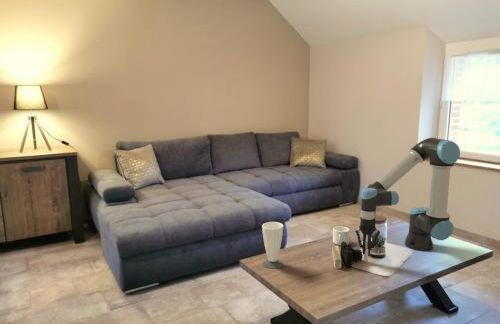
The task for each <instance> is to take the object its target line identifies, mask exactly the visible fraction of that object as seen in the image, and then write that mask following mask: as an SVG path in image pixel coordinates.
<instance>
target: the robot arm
mask: <svg viewBox="0 0 500 324" xmlns="http://www.w3.org/2000/svg"><path fill="white" fill-rule="evenodd" d="M460 157H461V150H460V147H459V145H458V144H457V143H456V142H454V141H452V140H449V139H443V138H436V137H429V138H428V137H427V138H425V139H423V140H420V141H419V142H417V143H416V144H415V145H414V146H412V147H411V148H410V149H409V150H408V153H407V154H406V155H404V157H402V158H401V159H400V160H398V162H397V163H396V164H394V165H393V166H392V167H391V168H390V169H389V170H387V171H386V172H385V173H384V174H383V175H382V176H381V177H379V178H378V179H377V180H375V182H373V183H368V184H366V185H365V186H364V187H363V189H362V190H361V199H360V200H361V201H360V202H361V203H360V219H359V221H360V222H359V227H357V228H355V229H354V232H355V234H356V237H357V241H358V245H359V248H361V249H362V250H361V251H362V255H364V256H363V260H364V262H368V261H369V255H371V249H374V248H375V246H376V244H377V243H376V242H377V240H378V237H379V235H380V234H381V231H380V229H377V227H376V217H377V214H376V213H377V207H389V206H390V207H391V206H395V205H398V203H399V201H400V196H399V193H398V192H397V191H396V190H389V189H390V188H391V187H393V186H394V185H395V184H396V183H397V182H399V180H401V179H402V178H403V177H405V176H406V174H407V173H409V172H410V171H411V170H412V169H414V167H416V166H417V165H418V164H422V163H423V162H425V161H427V160H429V163H428V164H429V166H430V167H431V168H432V169H431V180H430V181H431V183H430V193H429V194H430V196H429V206H428V207H424V206H423V207H420V206H417V207H413V208H411V209H410V212H409V220H408V222H409V223H408V225H409V226H408V232H407V235H406V237H405V240H404V245H405V247H406V248H409V249H411V250H414V251H420V252H421V251H423V252H424V251H426V252H428V251H431V250H433V248H434V243H433V240H432V239H436V240H438V241H444V240H447V239H449V238H450V237H451V235H453V233H454V228H455V227H454V224H453V223H452V221H450V215H451V214H449V213H448V202H449V201H448V200H449V189H450V178H451V169H452V168H453V167H454V166H455V163H457V161H458V160H459V159H460ZM360 232H361V233H362V240H361V235H360ZM373 234H374V235H373ZM372 235H373V237H372Z"/></svg>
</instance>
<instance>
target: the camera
mask: <svg viewBox="0 0 500 324" xmlns="http://www.w3.org/2000/svg"><path fill="white" fill-rule="evenodd" d="M339 252H340V256H341V263H342V264H343V265H344V267H345V268H347V269H352V268H353V262H362V261H363V253H362V250H361V249H358V248H357V249H355V248H353V246H351V244H347V243H346V242H344V241H343V242H342V243H341V245H340V249H339Z"/></svg>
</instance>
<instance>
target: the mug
mask: <svg viewBox="0 0 500 324" xmlns="http://www.w3.org/2000/svg"><path fill="white" fill-rule="evenodd" d="M350 231H351V230H350V228H349V227H347V226H341V225H339V226H334V227H333V228H332V242H333V244H335V246H341V243H342V242H343V241H344V242H346V243H347V245H350V244H349V243H350V240H351V232H350Z"/></svg>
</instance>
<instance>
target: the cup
mask: <svg viewBox="0 0 500 324" xmlns="http://www.w3.org/2000/svg"><path fill="white" fill-rule="evenodd" d="M261 229H262V236H263V237H262V238H263V243H264V245H263V246H264V249H265V253H266V257H267V259H265V260H266V261H264V260H263V261H264V262H263V261H262V262H263V263H261V264H264V265H262V266H263V267H264V266H265V267H264V268H266V267H267V268H266V269H270V268H273V269H274V268H276V269H279V268H282V267H283V266H284V262H283V260H280V259H278V258H279V255H280V250H281V246H282V240H283V235H284V233H283V232H284V224H283V223H281V222H278V221H268V222H265V223H263V224H262V225H261Z"/></svg>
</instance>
